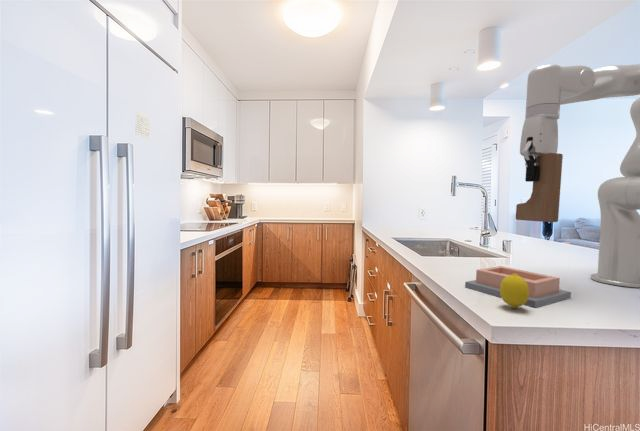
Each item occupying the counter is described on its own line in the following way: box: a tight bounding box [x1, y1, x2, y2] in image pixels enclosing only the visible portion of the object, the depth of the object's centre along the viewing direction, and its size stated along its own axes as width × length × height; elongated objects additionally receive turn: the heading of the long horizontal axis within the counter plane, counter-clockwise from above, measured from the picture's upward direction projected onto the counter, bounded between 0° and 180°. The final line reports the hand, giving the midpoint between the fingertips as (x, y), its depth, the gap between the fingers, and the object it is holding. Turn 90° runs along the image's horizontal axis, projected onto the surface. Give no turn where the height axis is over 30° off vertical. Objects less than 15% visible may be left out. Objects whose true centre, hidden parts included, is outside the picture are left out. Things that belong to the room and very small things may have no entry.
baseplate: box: [464, 265, 572, 308], centre depth 80 cm, size 16×18×5 cm
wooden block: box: [515, 152, 564, 223], centre depth 83 cm, size 9×4×18 cm, turn 17°
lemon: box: [500, 274, 529, 309], centre depth 68 cm, size 6×6×8 cm
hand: (537, 181), depth 83 cm, fingers closed on wooden block, 4 cm apart
